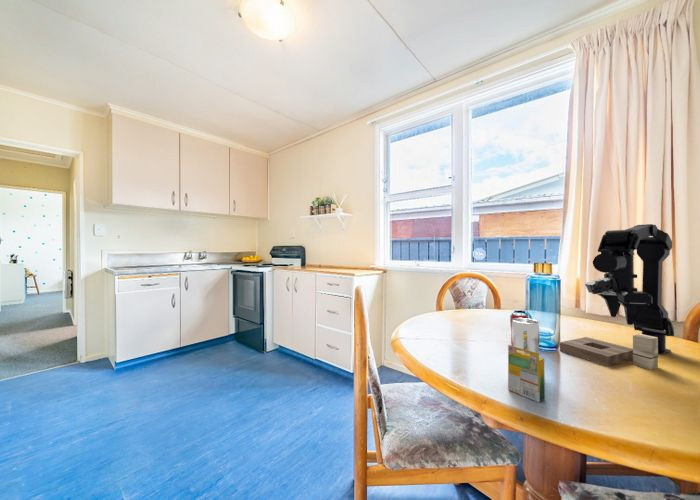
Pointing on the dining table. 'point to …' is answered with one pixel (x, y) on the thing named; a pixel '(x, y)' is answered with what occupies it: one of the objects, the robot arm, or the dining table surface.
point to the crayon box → (526, 374)
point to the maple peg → (645, 351)
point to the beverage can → (516, 315)
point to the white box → (525, 334)
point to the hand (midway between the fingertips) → (621, 320)
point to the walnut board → (597, 350)
